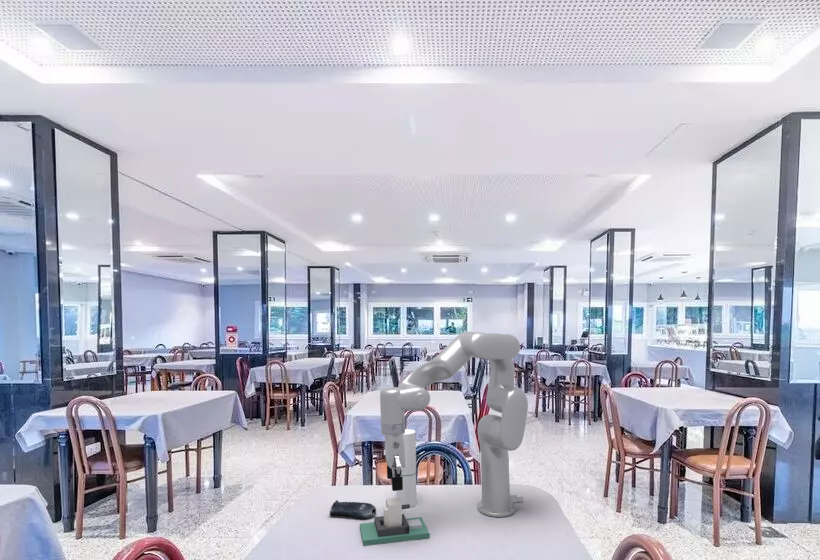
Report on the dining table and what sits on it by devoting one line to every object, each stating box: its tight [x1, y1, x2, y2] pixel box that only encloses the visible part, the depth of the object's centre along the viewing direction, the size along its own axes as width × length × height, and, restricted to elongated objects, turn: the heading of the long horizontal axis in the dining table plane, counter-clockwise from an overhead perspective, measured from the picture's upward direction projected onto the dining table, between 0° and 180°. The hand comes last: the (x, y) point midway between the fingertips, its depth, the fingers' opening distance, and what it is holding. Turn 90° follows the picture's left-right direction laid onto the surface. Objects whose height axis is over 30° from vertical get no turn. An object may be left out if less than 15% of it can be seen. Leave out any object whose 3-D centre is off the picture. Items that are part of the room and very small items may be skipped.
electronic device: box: [328, 499, 377, 520], centre depth 153 cm, size 9×6×15 cm
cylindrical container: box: [395, 428, 417, 508], centre depth 161 cm, size 7×7×25 cm
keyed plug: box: [383, 497, 411, 527], centre depth 140 cm, size 8×5×8 cm, turn 103°
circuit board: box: [359, 513, 431, 547], centre depth 139 cm, size 20×11×4 cm, turn 102°
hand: (394, 484), depth 140 cm, fingers open, 9 cm apart
